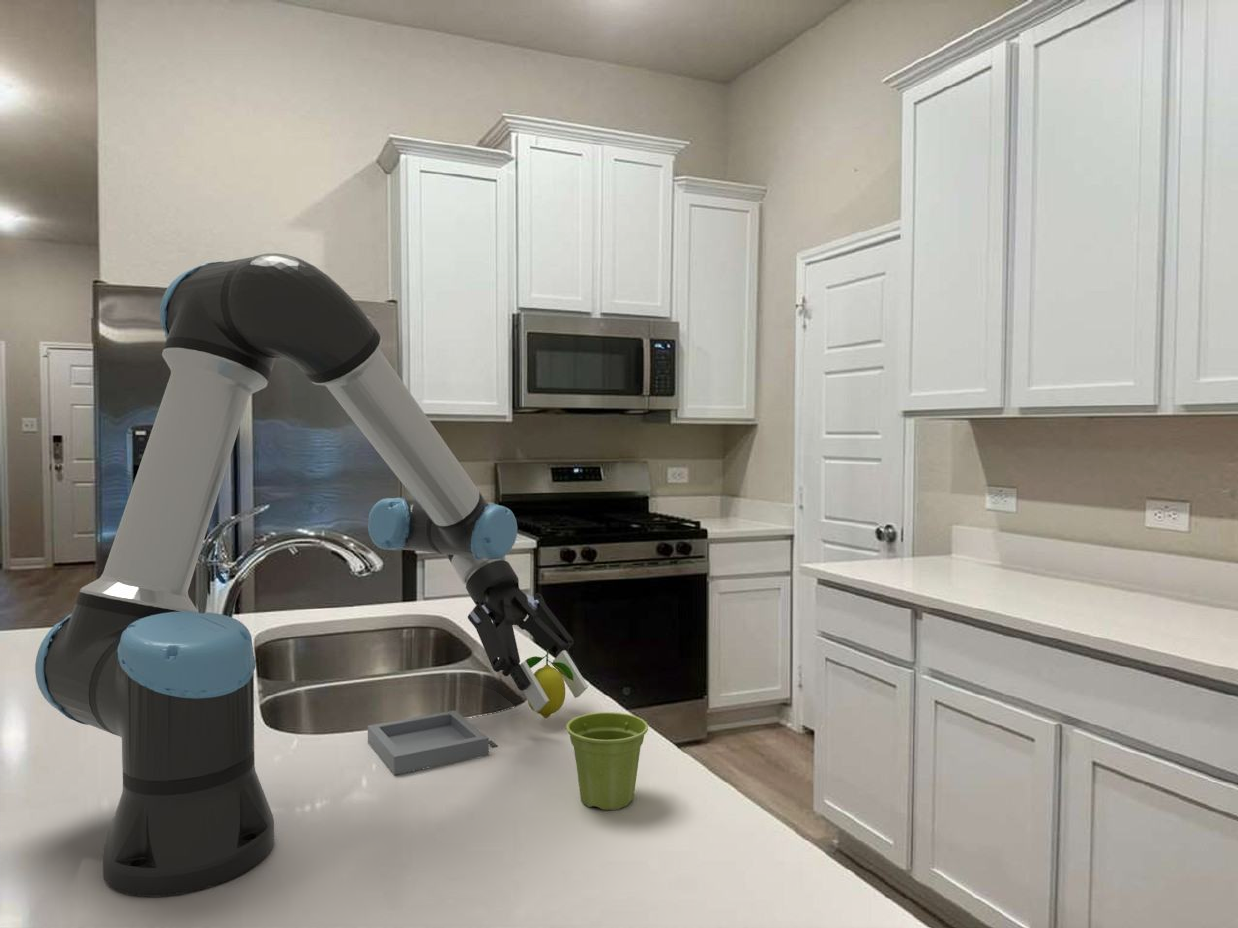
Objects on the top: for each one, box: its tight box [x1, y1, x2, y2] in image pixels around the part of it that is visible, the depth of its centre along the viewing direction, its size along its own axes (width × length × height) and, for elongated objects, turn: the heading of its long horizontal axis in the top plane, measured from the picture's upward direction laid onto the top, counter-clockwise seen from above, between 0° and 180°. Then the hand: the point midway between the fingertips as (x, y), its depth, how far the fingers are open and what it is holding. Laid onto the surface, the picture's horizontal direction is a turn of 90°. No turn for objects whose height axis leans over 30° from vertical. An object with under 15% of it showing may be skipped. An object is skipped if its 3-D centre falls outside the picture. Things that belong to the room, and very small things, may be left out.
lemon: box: [523, 649, 573, 719], centre depth 121 cm, size 7×6×10 cm
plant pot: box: [565, 711, 649, 811], centre depth 96 cm, size 9×9×9 cm
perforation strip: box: [482, 732, 498, 748], centre depth 116 cm, size 9×1×1 cm, turn 31°
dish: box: [367, 709, 490, 776], centre depth 111 cm, size 12×12×2 cm
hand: (562, 698), depth 119 cm, fingers closed on lemon, 8 cm apart
